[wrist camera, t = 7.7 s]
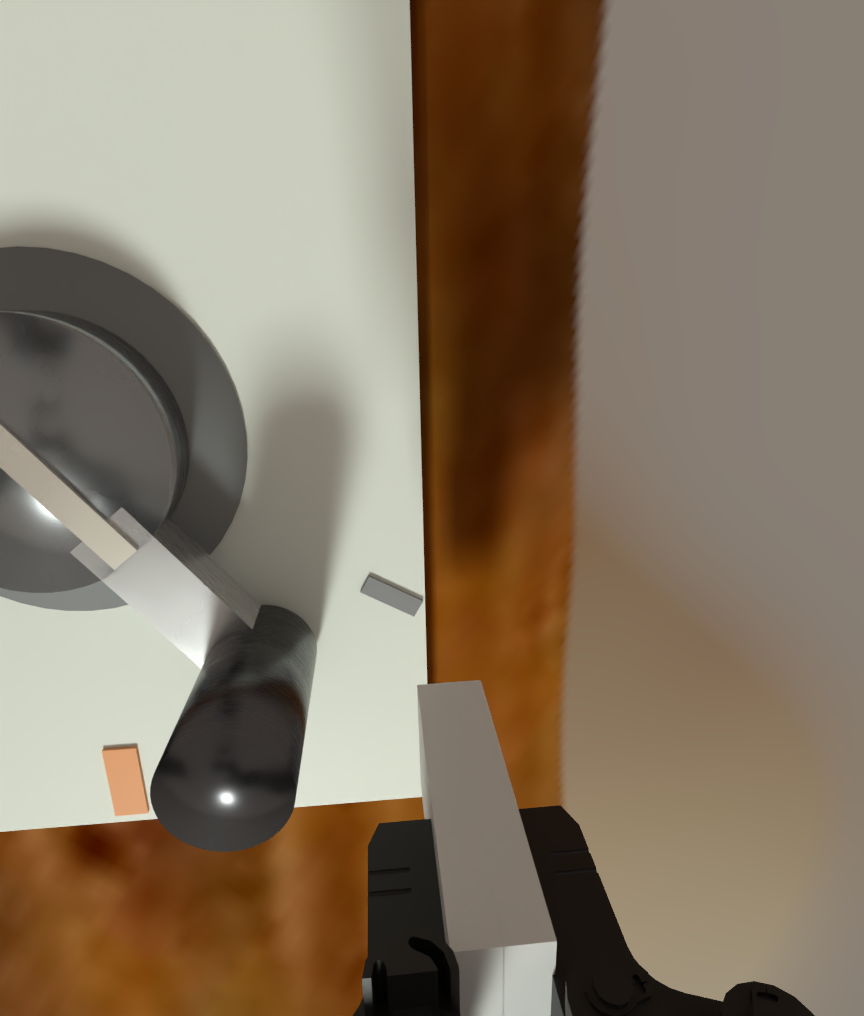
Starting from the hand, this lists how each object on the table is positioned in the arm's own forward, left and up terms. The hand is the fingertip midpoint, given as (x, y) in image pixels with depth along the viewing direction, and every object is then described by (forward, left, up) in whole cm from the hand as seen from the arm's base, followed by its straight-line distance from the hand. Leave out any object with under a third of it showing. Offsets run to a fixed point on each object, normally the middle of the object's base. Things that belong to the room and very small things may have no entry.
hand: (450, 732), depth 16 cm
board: (-7, -9, -4) cm, 12 cm away
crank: (-5, -7, -3) cm, 9 cm away
